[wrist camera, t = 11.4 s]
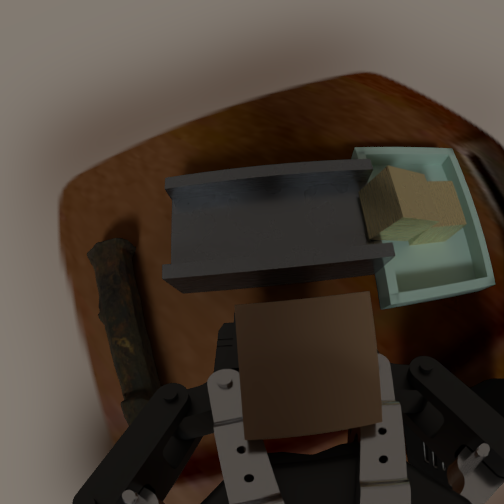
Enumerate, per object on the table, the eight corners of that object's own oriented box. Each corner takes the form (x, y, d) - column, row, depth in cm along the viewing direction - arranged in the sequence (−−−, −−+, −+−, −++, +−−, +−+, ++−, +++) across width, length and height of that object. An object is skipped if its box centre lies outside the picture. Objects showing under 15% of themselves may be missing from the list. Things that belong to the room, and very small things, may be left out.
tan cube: (398, 204, 26) (433, 201, 26) (409, 245, 25) (445, 241, 24) (414, 181, 22) (452, 180, 22) (428, 227, 21) (466, 224, 21)
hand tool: (102, 259, 27) (76, 242, 23) (139, 247, 27) (116, 227, 23) (148, 461, 21) (125, 477, 17) (191, 456, 21) (174, 475, 17)
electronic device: (399, 418, 21) (462, 445, 11) (488, 377, 21) (562, 375, 11) (404, 460, 19) (462, 501, 10) (492, 416, 19) (563, 426, 10)
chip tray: (442, 161, 28) (451, 148, 25) (480, 290, 23) (495, 284, 21) (349, 162, 28) (354, 147, 26) (380, 309, 24) (390, 304, 21)
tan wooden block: (324, 319, 19) (392, 264, 8) (331, 393, 18) (410, 437, 6) (256, 326, 19) (232, 280, 8) (262, 400, 18) (246, 462, 6)
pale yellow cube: (394, 197, 25) (424, 174, 21) (406, 241, 23) (439, 221, 20) (358, 192, 23) (387, 165, 20) (369, 239, 22) (403, 217, 19)
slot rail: (356, 189, 27) (370, 158, 23) (374, 274, 25) (395, 255, 20) (182, 206, 28) (165, 178, 23) (182, 293, 25) (162, 278, 21)
